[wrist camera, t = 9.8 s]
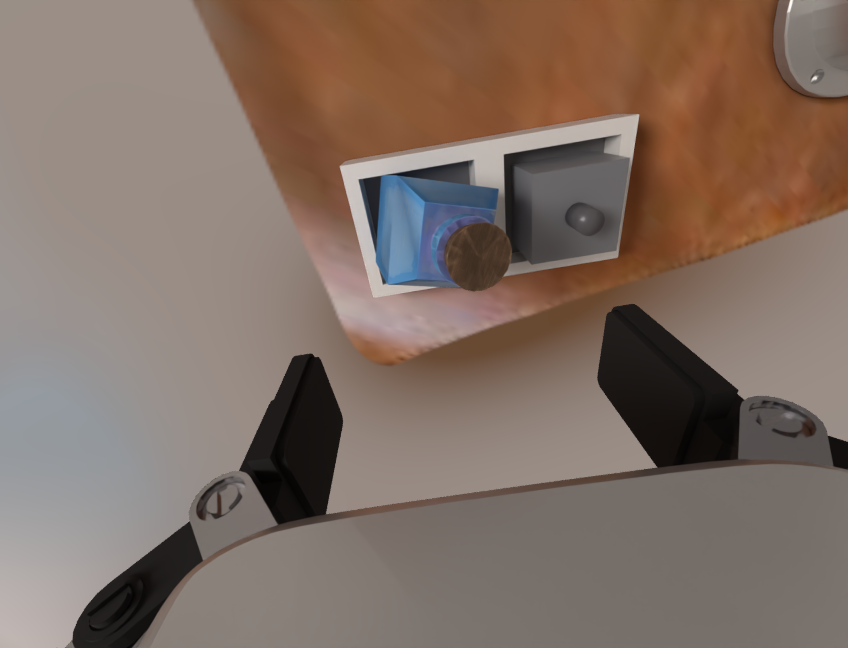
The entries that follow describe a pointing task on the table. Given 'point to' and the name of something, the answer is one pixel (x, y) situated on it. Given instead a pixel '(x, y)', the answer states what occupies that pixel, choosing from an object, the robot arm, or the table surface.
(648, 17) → the table surface
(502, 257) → the perfume bottle
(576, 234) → the charcoal plug block
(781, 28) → the robot arm
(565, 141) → the socket strip
